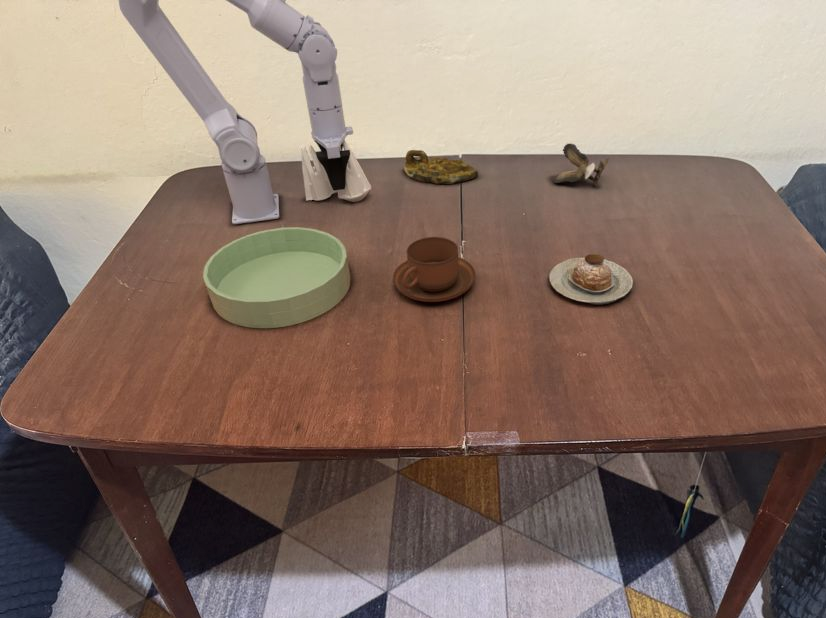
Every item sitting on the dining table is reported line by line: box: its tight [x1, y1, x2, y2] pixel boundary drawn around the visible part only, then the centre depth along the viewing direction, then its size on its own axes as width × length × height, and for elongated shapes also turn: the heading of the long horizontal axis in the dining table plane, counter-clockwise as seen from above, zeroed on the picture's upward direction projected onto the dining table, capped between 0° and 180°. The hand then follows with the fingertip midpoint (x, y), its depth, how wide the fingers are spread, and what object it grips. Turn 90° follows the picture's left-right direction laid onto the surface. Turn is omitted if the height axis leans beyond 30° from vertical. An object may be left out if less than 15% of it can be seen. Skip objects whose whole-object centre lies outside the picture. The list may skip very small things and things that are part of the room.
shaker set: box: [300, 140, 372, 203], centre depth 114 cm, size 12×4×11 cm, turn 76°
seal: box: [403, 149, 479, 185], centre depth 124 cm, size 9×5×15 cm
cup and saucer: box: [392, 236, 476, 303], centre depth 93 cm, size 12×12×6 cm
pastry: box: [548, 253, 634, 306], centre depth 92 cm, size 12×12×5 cm
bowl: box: [202, 226, 352, 329], centre depth 94 cm, size 20×20×4 cm
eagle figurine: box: [551, 143, 610, 188], centre depth 118 cm, size 8×7×9 cm
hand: (337, 181), depth 115 cm, fingers closed on shaker set, 6 cm apart
